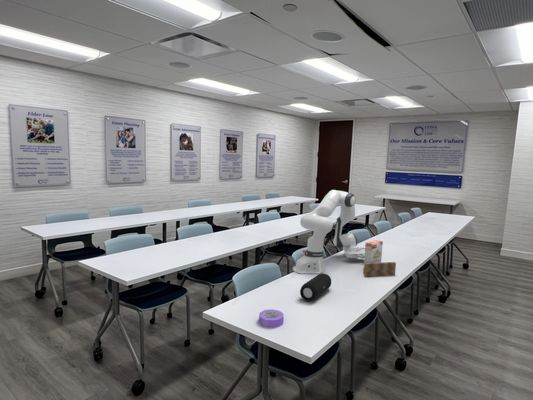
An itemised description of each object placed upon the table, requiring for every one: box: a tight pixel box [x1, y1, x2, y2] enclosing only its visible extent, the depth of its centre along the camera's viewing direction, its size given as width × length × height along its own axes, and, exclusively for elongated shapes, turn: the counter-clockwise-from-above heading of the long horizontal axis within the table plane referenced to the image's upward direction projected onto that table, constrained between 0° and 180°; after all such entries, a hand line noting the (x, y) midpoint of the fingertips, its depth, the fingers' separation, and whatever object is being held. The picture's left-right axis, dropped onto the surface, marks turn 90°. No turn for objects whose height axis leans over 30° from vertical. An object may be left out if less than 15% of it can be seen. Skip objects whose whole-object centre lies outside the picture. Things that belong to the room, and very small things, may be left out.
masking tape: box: [258, 308, 285, 329], centre depth 162 cm, size 12×12×4 cm
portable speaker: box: [299, 272, 332, 302], centre depth 196 cm, size 26×10×10 cm, turn 147°
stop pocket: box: [363, 261, 397, 278], centre depth 233 cm, size 22×7×9 cm, turn 101°
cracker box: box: [363, 239, 384, 269], centre depth 243 cm, size 14×6×21 cm, turn 131°
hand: (363, 257), depth 254 cm, fingers closed
